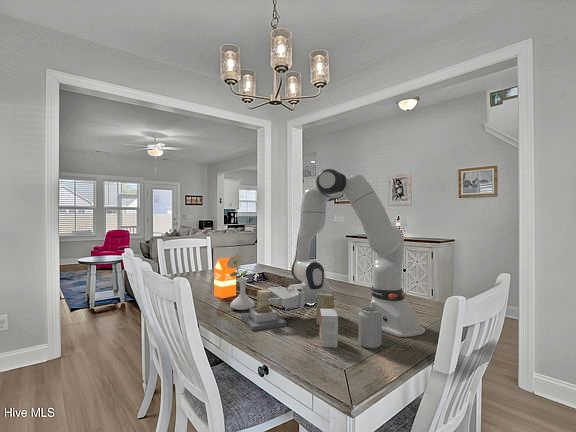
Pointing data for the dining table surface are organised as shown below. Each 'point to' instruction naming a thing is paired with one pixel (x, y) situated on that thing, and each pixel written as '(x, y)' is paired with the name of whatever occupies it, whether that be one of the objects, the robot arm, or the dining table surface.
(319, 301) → the skincare box
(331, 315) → the small box
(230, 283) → the orange juice
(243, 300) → the flower in vase
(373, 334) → the can
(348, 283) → the dining table surface
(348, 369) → the dining table surface
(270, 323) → the socket board
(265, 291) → the maple peg
